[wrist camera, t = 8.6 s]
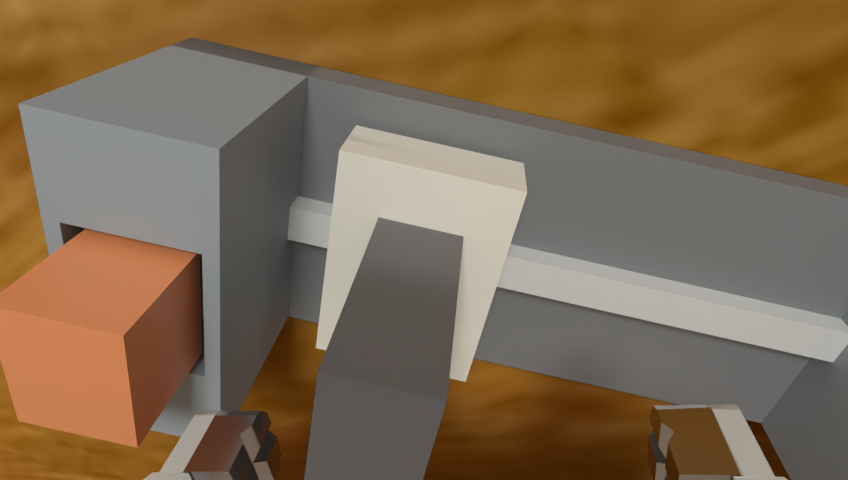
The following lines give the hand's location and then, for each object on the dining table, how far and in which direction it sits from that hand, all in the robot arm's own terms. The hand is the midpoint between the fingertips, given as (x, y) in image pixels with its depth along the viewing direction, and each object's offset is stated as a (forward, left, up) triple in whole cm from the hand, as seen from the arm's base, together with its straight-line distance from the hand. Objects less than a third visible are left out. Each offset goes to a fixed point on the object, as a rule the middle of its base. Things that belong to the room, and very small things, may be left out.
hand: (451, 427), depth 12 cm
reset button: (-5, +6, -2) cm, 8 cm away
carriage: (-1, +1, -7) cm, 7 cm away
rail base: (+2, -2, -9) cm, 9 cm away
